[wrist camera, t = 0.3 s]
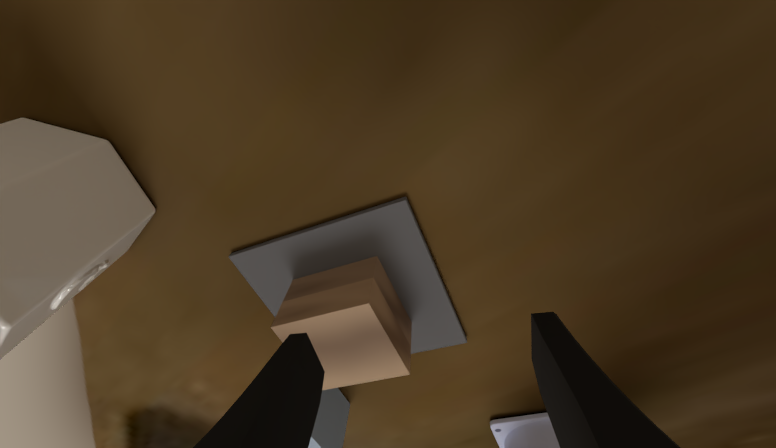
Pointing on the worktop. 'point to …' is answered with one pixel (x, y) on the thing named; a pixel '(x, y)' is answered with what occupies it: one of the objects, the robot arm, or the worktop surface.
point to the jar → (59, 220)
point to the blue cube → (330, 420)
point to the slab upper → (348, 333)
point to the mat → (355, 243)
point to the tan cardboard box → (352, 275)
